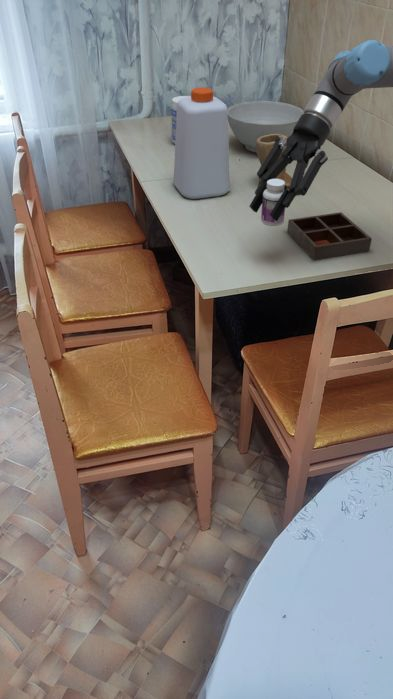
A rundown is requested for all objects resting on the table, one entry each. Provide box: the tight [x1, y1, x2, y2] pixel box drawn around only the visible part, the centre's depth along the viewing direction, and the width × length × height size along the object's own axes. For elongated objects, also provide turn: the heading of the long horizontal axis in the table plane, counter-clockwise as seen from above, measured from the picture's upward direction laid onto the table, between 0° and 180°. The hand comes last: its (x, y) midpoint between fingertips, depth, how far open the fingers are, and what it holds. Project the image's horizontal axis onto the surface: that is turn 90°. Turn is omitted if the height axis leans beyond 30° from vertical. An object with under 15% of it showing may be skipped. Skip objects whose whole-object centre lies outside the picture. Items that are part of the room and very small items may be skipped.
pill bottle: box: [260, 179, 286, 227], centre depth 123 cm, size 5×5×10 cm
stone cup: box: [256, 134, 293, 191], centre depth 162 cm, size 15×12×15 cm
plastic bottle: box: [173, 87, 231, 200], centre depth 156 cm, size 15×15×28 cm
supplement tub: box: [171, 95, 191, 145], centre depth 192 cm, size 10×10×15 cm
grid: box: [286, 211, 372, 261], centre depth 139 cm, size 15×15×4 cm
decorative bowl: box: [227, 100, 304, 154], centre depth 189 cm, size 27×27×12 cm
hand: (263, 213), depth 122 cm, fingers closed on pill bottle, 5 cm apart
